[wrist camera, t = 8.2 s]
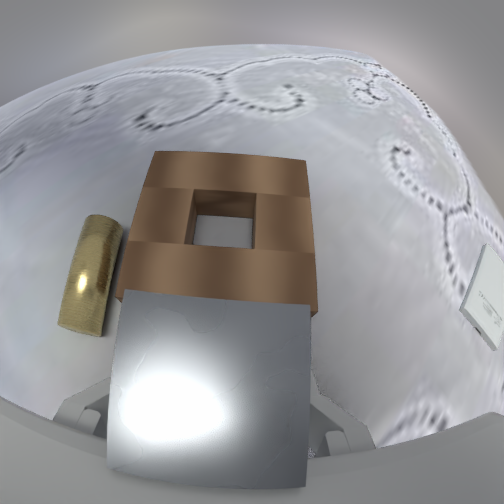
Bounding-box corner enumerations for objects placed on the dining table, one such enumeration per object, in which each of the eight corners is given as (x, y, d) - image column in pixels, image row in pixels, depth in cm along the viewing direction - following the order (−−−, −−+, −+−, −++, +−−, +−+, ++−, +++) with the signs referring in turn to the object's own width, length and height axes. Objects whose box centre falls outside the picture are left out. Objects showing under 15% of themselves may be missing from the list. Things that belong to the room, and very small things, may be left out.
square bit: (183, 418, 14) (106, 467, 4) (188, 356, 16) (124, 289, 6) (251, 424, 15) (305, 487, 4) (254, 361, 17) (310, 304, 6)
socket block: (130, 311, 23) (114, 296, 19) (161, 177, 30) (155, 151, 26) (304, 323, 24) (318, 311, 20) (297, 185, 31) (305, 160, 27)
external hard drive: (510, 285, 28) (490, 352, 24) (480, 247, 30) (456, 311, 26) (517, 280, 27) (499, 349, 22) (487, 242, 29) (465, 306, 24)
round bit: (107, 339, 22) (91, 329, 18) (69, 330, 21) (49, 320, 18) (127, 238, 26) (117, 216, 23) (92, 235, 26) (79, 213, 22)
